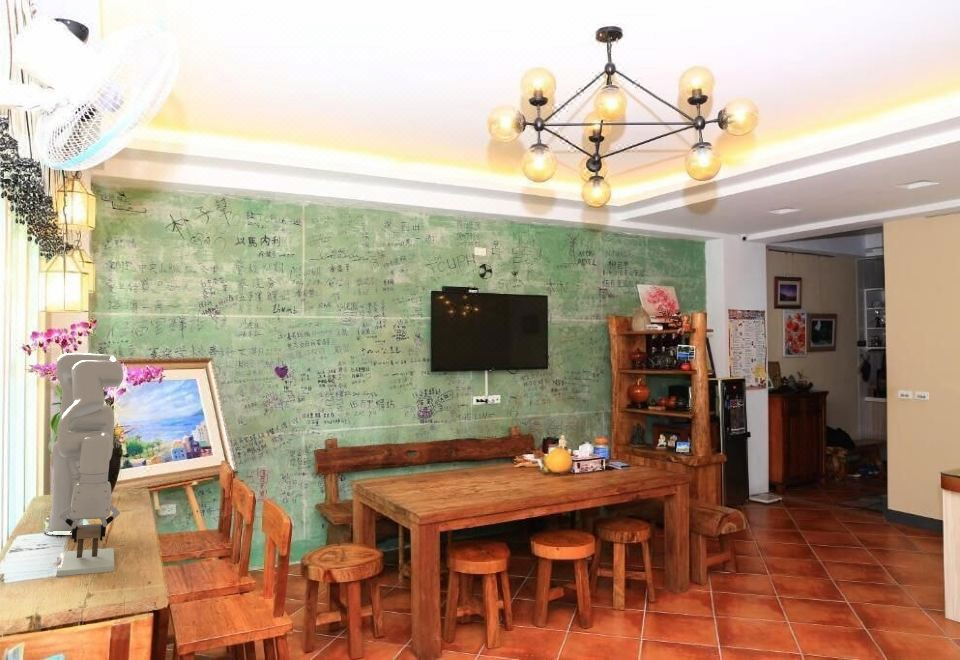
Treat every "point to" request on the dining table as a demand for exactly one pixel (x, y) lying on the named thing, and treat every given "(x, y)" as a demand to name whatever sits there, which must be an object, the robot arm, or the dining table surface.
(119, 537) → the dining table surface
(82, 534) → the stool
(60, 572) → the board
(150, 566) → the dining table surface
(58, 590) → the dining table surface
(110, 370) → the robot arm
